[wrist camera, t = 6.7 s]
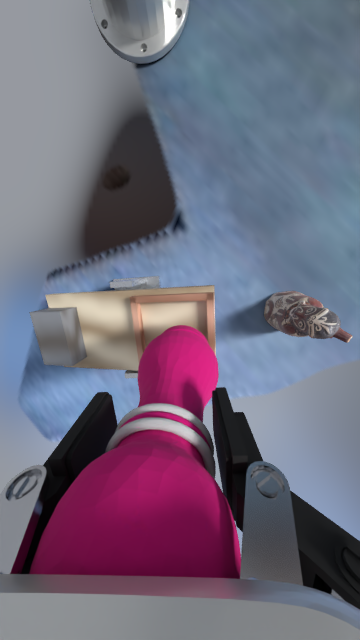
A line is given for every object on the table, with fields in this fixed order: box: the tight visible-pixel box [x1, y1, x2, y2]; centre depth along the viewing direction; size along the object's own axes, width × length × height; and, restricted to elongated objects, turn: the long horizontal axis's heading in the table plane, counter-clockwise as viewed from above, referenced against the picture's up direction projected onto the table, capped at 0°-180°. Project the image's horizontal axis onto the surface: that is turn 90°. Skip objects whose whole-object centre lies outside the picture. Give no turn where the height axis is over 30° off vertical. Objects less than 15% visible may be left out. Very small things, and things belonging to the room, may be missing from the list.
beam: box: [30, 285, 216, 371], centre depth 26 cm, size 12×25×4 cm, turn 94°
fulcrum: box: [110, 276, 161, 378], centre depth 30 cm, size 15×8×8 cm, turn 4°
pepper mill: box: [29, 325, 241, 579], centre depth 11 cm, size 7×7×20 cm
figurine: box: [264, 291, 352, 342], centre depth 27 cm, size 7×7×12 cm
